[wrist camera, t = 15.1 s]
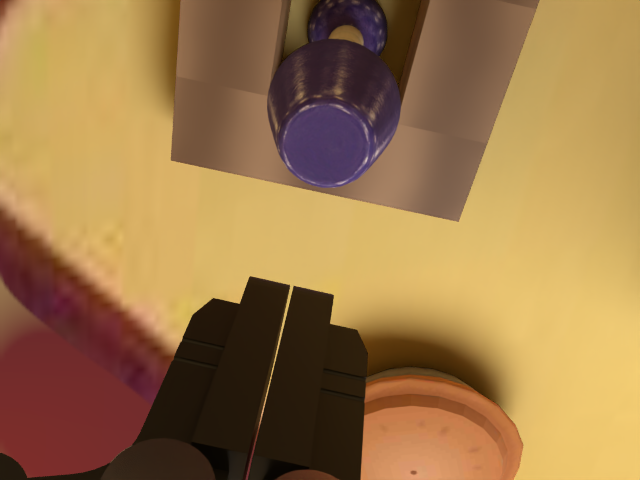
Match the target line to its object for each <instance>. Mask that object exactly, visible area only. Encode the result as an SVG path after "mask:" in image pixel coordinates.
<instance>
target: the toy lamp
mask: <svg viewBox="0 0 640 480" xmlns="http://www.w3.org/2000/svg"><path fill="white" fill-rule="evenodd" d="M308 40H309V43H308V44H306V45H304V46H302V47H300V48H299V49H297V50H296V51H294V52H293V53H291V54H290V55H289V56H288V57H287V58H286V59H285V60H284V61H283V62H282V64H281V65H280V67H279V68H278V69H277V71H276V73H275V75H274V77H273V79H272V82H271V84H270V88H269V91H268V97H267V112H268V119H269V123H270V127H271V131H272V134H273V138H274V141H275V144H276V147H277V150H278V153H279V155H280V157H281V159H282V161H283V163H284V164H285V166H286V168H287V169H288V170H289V171H290V172H291V173H292V174H293V175H294V176H296V177H297V178H298V179H300V180H302V181H304V182H305V183H308V184H310V185H313V186H317V187H321V188H335V187H341V186H343V185H346V184H348V183H351V182H353V181H355V180H357V179H358V178H359V177H361V176H362V175H363V174H364V173H365V172H366V171H367V170H368V169H369V168H370V167H371V166H372V164H373V163H374V162H375V161H376V160H377V159H378V158H379V156H380V155H381V154H382V153H383V151H384V150H385V149H386V147H387V146H388V144H389V143H390V141H391V140H392V138H393V136H394V134H395V132H396V129H397V126H398V123H399V119H400V112H401V100H400V93H399V89H398V85H397V82H396V80H395V78H394V76H393V74H392V72H391V71H390V69H389V67H388V66H387V65H386V63H385V62H384V61H383V60H382V59H381V58H380V57H379V56H380V54H381V53H382V51H383V49H384V47H385V44H386V40H387V21H386V18H385V15H384V13H383V11H382V9H381V7H380V6H379V5H378V3H377V2H376V1H375V0H321V1H320V2H319V3H318V4H317V5H316V6H315V8H314V9H313V12H312V13H311V16H310V19H309V22H308Z"/></svg>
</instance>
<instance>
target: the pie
mask: <svg viewBox="0 0 640 480" xmlns="http://www.w3.org/2000/svg"><path fill="white" fill-rule="evenodd" d="M364 403H365V411H364V429H363V446H362V464H361V480H513V479H514V477H515V475H516V473H517V471H518V469H519V466H520V461H521V455H522V449H523V443H522V441H521V438H520V436H519V433H518V430H517V428H516V425H515V424H514V423H513V422H512V420H511V419H510V418H509V417H508V416H507V415H506V413H505V412H504V411H503V410H502V409H501V408H500V406H499V405H498V404H496V403H494V402H493V401H491V400H489V399H488V398H486V397H484V396H483V395H481V394H480V393H478V392H477V391H476V390H474V389H473V388H472V387H471V386H469V385H468V384H466V383H464V382H463V381H461V380H459V379H458V378H456V377H455V376H453V375H450V374H447V373H444V372H441V371H438V370H435V369H430V368H419V367H403V368H395V369H388V370H385V371H382V372H379V373H376V374H374V375H371V376H368V377H367V378H366V393H365V401H364Z"/></svg>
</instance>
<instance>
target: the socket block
mask: <svg viewBox="0 0 640 480" xmlns="http://www.w3.org/2000/svg"><path fill="white" fill-rule="evenodd" d="M538 3H539V0H421V4H420V7H419V11H418V15H417V19H416V23H415V26H414V30H413V34H412V38H411V41H410V45H409V49H408V53H407V56H406V60H405V64H404V68H403V71H402V75H401V79H400V83H399V87H398V89H399V93H400V100H401V112H400V119H399V123H398V126H397V129H396V132H395V134H394V136H393V138H392V140H391V141H390V143H389V144H388V146H387V147H386V149H385V150H384V151H383V153H382V154H381V155H380V156H379V158H378V159H377V160H376V161H375V162H374V163H373V164H372V166H371V167H370V168H369V169H368V170H367V171H366V172H365V173H364V174H363V175H362V176H361V177H359V178H358V179H357V180H355V181H353V182H351V183H348V184H346V185H343V186H341V187H335V188H321V187H317V186H313V185H310V184H308V183H305V182H304V181H302V180H300V179H298V178H297V177H296V176H294V175H293V174H292V173H291V172H290V171H289V170H288V169H287V168H286V166H285V164H284V163H283V161H282V159H281V157H280V155H279V153H278V150H277V147H276V144H275V141H274V138H273V134H272V131H271V127H270V123H269V119H268V112H267V97H268V91H269V88H270V84H271V82H272V79H273V77H274V75H275V73H276V71H277V69H278V68H279V67H280V65H281V63H282V57H283V50H284V44H285V37H286V31H287V24H288V18H289V12H290V5H291V0H181V3H180V20H179V36H178V52H177V68H176V85H175V101H174V117H173V133H172V150H171V161H176V162H181V163H185V164H190V165H195V166H199V167H204V168H209V169H213V170H218V171H223V172H228V173H232V174H237V175H242V176H246V177H251V178H256V179H260V180H265V181H270V182H274V183H279V184H284V185H289V186H293V187H298V188H303V189H307V190H312V191H317V192H321V193H326V194H331V195H335V196H340V197H345V198H350V199H354V200H359V201H364V202H368V203H373V204H378V205H382V206H387V207H392V208H396V209H401V210H406V211H411V212H415V213H420V214H425V215H429V216H434V217H439V218H443V219H448V220H453V221H457V222H459V219H460V216H461V214H462V211H463V208H464V205H465V203H466V200H467V197H468V195H469V192H470V189H471V186H472V184H473V181H474V178H475V175H476V173H477V170H478V167H479V164H480V162H481V159H482V156H483V154H484V151H485V148H486V145H487V143H488V140H489V137H490V134H491V132H492V129H493V126H494V123H495V121H496V118H497V115H498V112H499V110H500V107H501V104H502V102H503V99H504V96H505V93H506V91H507V88H508V85H509V82H510V80H511V77H512V74H513V71H514V69H515V66H516V63H517V61H518V58H519V55H520V52H521V50H522V47H523V44H524V41H525V39H526V36H527V33H528V30H529V28H530V25H531V22H532V20H533V17H534V14H535V11H536V9H537V6H538Z"/></svg>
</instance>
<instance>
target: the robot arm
mask: <svg viewBox="0 0 640 480" xmlns="http://www.w3.org/2000/svg"><path fill="white" fill-rule="evenodd" d="M289 289H290V285H287V284H282V283H278V282H274V281H269V280H265V279H260V278H256V277H251V276H250V277H249V280H248V282H247V285H246V288H245V291H244V294H243V296H242V299H241V302H240V304H238V303H233V302H229V301H224V300H220V299H215V298H213V299H212V300H210V301H209V302H208V303H207V304H205V305H204V306H203V307H202V308H200V309H199V310H198V311H197V312H196V313H194V314H193V315H192V318H191V320H190V322H189V324H188V327H187V329H186V331H185V333H184V336H183V339H182V342H180V345H179V347H178V349H177V351H176V353H175V356H174V360H173V361H172V362H171V365H170V367H169V369H168V371H167V374H166V376H165V378H164V380H163V383H162V385H161V387H160V389H159V391H158V394H157V396H156V398H155V400H154V403H153V405H152V407H151V409H150V412H149V414H148V416H147V418H146V421H145V423H144V425H143V427H142V429H141V432H140V434H139V435H138V437H137V439H136V441H135V442H134V443H133V444H132V446H130V447H129V448H127V449H125V450H124V451H122V452H121V453H120V454H118V455H117V456H116V457H115V458H114V459H113V461H111V462H110V463H108V464H107V465H105V466H102V467H100V468H97V469H95V470H91V471H88V472H84V473H78V474H70V475H57V476H47V477H46V476H45V477H34V478H27V476H26V474H25V472H24V470H23V468H22V467H21V466H20V465H19V463H18V462H16V461H15V460H14V459H12V458H11V457H9V456H7V455H5V454H3V453H0V480H245V479H246V475H247V471H248V467H249V463H250V459H251V455H252V450H253V446H254V442H255V438H256V434H257V430H258V426H259V422H260V417H261V413H262V409H263V405H264V401H265V397H266V393H267V389H268V385H269V380H270V376H271V372H272V368H273V363H274V359H275V354H276V350H277V345H278V340H279V336H280V331H281V326H282V322H283V317H284V313H285V308H286V303H287V299H288V294H289ZM333 298H334V295H332V294H328V293H323V292H319V291H314V290H310V289H306V288H301V287H297V286H294V287H293V291H292V295H291V299H290V304H289V308H288V312H287V316H286V320H285V324H284V329H283V333H282V337H281V341H280V345H279V349H278V354H277V358H276V362H275V366H274V370H273V374H272V379H271V383H270V387H269V391H268V395H267V399H266V404H265V408H264V412H263V416H262V420H261V424H260V429H259V433H258V437H257V441H256V445H255V449H254V454H253V458H252V463H251V467H250V472H249V477H248V480H361V464H362V446H363V429H364V411H365V403H364V401H365V393H366V376H367V358H368V353H367V351H366V348H365V346H364V344H363V342H362V340H361V337H360V335H359V333H358V331H357V330H355V329H350V328H346V327H341V326H337V325H332V324H330V319H331V312H332V305H333Z"/></svg>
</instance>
